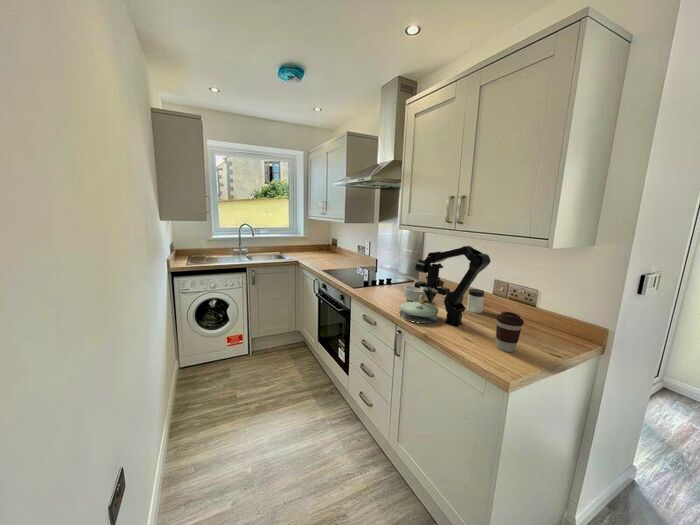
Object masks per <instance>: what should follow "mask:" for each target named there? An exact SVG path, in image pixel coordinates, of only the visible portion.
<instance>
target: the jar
mask: <svg viewBox="0 0 700 525" xmlns="http://www.w3.org/2000/svg"><path fill="white" fill-rule="evenodd" d="M468 289H469V288H468ZM484 300H485V291H484V290H482V289H478V288H470V289H469V290H468V297H467V303H466V310H467V312H471V313H473V314H481V313H483V308H484V307H483V306H484Z"/></svg>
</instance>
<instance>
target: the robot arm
mask: <svg viewBox="0 0 700 525" xmlns="http://www.w3.org/2000/svg"><path fill="white" fill-rule="evenodd" d="M461 256H465V258H466V259H467V260H468V261H469V263H468V264H469V266H468V270H467V271H466V273H465V274H464V276H463V277H462V279H461V280H460V282H459V284H458V285H457V286H456V288H455V289H454V290H452V291H451V289H450V288H449V287H445V286H444V284H445V281H444V280H441V277H440V269H444V265H443V264H442V263H441V262H443V261H446V260H447V259H451V258H455V257H461ZM491 260H492V259H491V257H490V256H489V255H488V254H487V253H483V252H482V251H479V250H478V249H475V248H473V247H472V246H470V245H463V246H461V247H457V248H454V249H453V248H452V249H449V250H444V251H443V250H442V251H431V252H430V251H429V253H428V254H427V256H426V258H425V259H418V261H417V263H416V264H415V268H414V269H415V271H416V272H419V273H422V274H427V275H426V276H425V279H426V282H425V281H422V280H421V281H415V283H414V285H415V287H416V288H420V287H424V290H423V291H424V292H425V294H426V296H427V298H426V300H427V302H428V304H433V301H434V299H435V297H436V295H437V294H438V295H441V296H445V297H443V299H444V300H443V303H444V306H445V307H444V308H445V311H446V319H445V321H444V323H445V324H448V325H451V326H454V327H459V326H462V325H463V324H464V323H463V322H462V320H463V313H464V312H465V311H466V307H465V305H464V304H463V301H464V295H465V293H466V292H467V291H468V289H469V288H470V286H471V285H472V283H473V282H474V280H475V279H476V277H477V276H478V275H479V274H480V273H481V272H482V271H483V270H485V269H486V268H487V267H488V266H489V265H490V263H491Z"/></svg>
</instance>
